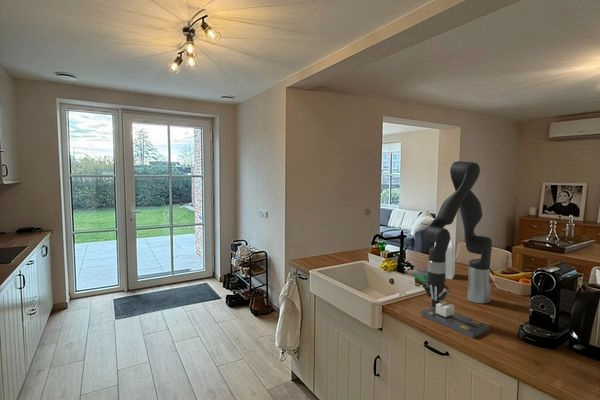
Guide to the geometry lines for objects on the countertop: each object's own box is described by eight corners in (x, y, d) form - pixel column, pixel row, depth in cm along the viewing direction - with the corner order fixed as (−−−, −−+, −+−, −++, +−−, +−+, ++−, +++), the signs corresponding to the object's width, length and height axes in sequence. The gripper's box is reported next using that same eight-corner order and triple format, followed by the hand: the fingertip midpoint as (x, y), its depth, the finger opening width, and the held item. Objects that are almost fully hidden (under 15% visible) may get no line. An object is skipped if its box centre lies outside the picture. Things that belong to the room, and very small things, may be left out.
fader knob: (435, 312, 143) (435, 304, 143) (443, 309, 146) (444, 301, 146) (445, 317, 139) (446, 307, 139) (453, 313, 142) (454, 305, 142)
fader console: (421, 315, 146) (421, 311, 146) (437, 309, 153) (437, 305, 152) (472, 338, 126) (472, 333, 126) (489, 330, 132) (489, 325, 132)
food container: (421, 289, 180) (422, 271, 179) (413, 285, 185) (413, 268, 184) (436, 285, 186) (437, 268, 185) (427, 282, 191) (428, 266, 190)
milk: (454, 274, 207) (456, 234, 204) (452, 279, 197) (453, 237, 195) (434, 271, 213) (436, 232, 211) (431, 275, 203) (432, 235, 201)
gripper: (418, 268, 149) (417, 304, 150) (444, 275, 138) (443, 314, 139) (429, 265, 153) (428, 300, 154) (455, 273, 142) (453, 310, 143)
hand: (435, 307), depth 147 cm, fingers closed
